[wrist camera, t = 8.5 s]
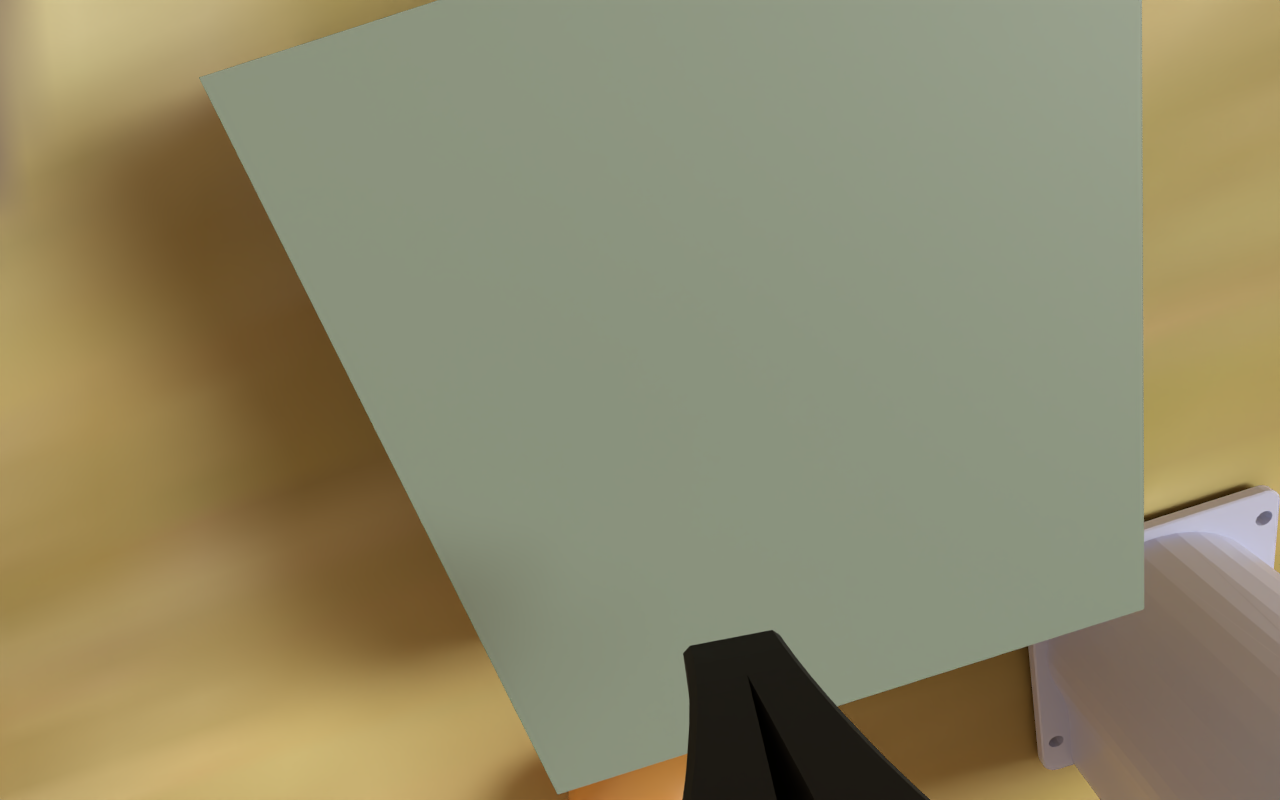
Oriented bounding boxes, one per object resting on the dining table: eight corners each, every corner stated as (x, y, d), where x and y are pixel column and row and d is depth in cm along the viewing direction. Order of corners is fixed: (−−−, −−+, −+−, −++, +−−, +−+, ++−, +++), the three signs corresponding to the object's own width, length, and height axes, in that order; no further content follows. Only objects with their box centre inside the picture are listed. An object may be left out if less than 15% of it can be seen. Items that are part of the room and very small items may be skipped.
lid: (1121, 587, 20) (1144, 609, 19) (556, 765, 20) (557, 795, 19) (1105, -215, 13) (1140, -228, 12) (216, 73, 13) (199, 77, 12)
